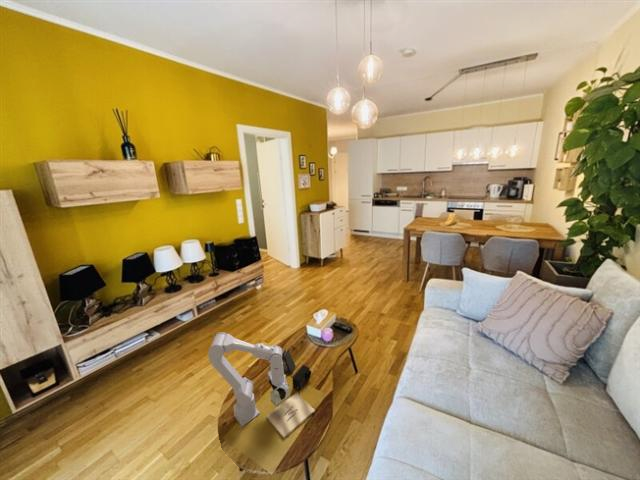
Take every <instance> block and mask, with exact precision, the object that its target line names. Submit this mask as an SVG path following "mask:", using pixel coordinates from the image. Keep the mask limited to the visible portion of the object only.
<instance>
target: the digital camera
mask: <svg viewBox="0 0 640 480" xmlns="http://www.w3.org/2000/svg"><path fill="white" fill-rule="evenodd" d="M311 376H312V371H311V370H310V367H309V366H307V365H304V364H303V365H301V367H300V368H299V369H298V370H297V371H296V373H295V374H294V375H293V376H292V379H291V380H292V389H294V390H296V391H298V392H301V390H302V389H303V388H304V386H305V385H306V384H307V382H308V381H309V380H310V378H311Z"/></svg>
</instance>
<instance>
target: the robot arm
mask: <svg viewBox="0 0 640 480" xmlns="http://www.w3.org/2000/svg"><path fill="white" fill-rule="evenodd" d="M211 342H212V343H211V345H210V347H209V348H208V351H207V355H208V362H209V363H210V364H211V366H212V367H213V368H214V369H215V370H216V371H217V372H218V373H219V374H220V375H221V377H222V378H223V379H224V380H225V381H226V383H227V384H228V385H229V386H230V387H231V388H232V389H233V394H234V398H235V400H236V403H234V404H233V407H232V408H233V414H234V415H233V417H234V418H235V419H236V420H237V422H238V424H239V425H240V427H244V426H245V425H246V424H248V423H249V422H251V420H253V419H255V418H257V416H258V415H260V414H261V413H260V411H259V409H258V408H257V406H256V400H255V394H254V392H253V391H254V390H253V389H254V386H255V385H254V382H253V381H252V380H250V379H248V378H247V377H245V376H244V377H242V376H241V375H240V373H239V372H238V371H237V370H236V369H235V368H234V367H233V365H232V364H231V363H230V361H229V360H228V359H226V357H225V356H224V355H229V353H231V352H233V351H237V352H238V351H239V352H243V353H251V354H252V357H254V358H257V359H260V360H261V359H262V360H266V361H268V363H269V364H270V365H269V366H270V370H269V371H268V372H267V376H268V378H269V379H270V380H268V383H269V385H270V386H271V389H272V391H273V390H274V389H275V388H277V387H280V388H278V389H277V391H278V392H279V395H280V399H281V400H283V399H284V398H285V395H286V393H287V392H288V391H289V390H290V391H291V388H290V386H289V385H290V384H288V382H287V380H286V378H287V375H286V373H284V369H283V361H282V354H283V349H282V347H281V346H279V345H277V344H275V345H267V344H264V343H263V342H261V343H259V342H258V343H256V344H252V343H250V342H246V341H243V340H241V339H238V338H236V337H234V336H233V335H232V334H231V333H226V332H221V331H220V332H217V333H216V334H214V337H213V339H212V341H211Z"/></svg>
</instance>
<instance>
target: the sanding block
mask: <svg viewBox="0 0 640 480" xmlns="http://www.w3.org/2000/svg"><path fill="white" fill-rule="evenodd" d="M278 388H280V387H277V388H275V389H274V390H273V389H272V390H271V391H270V392H269V395H270V402H271V403H272V404H273V405H274V406H275V408H277V407H278V406H280V405H281V404H282V403H284V402H285V401H286V400H288V399H289V398H290V397H291V389H290V390H289V391H288V392H287V393H286V395H285V398H284V399H283V400H281V399H280V395H279V392H278V391H277V389H278Z"/></svg>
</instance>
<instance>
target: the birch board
mask: <svg viewBox="0 0 640 480" xmlns="http://www.w3.org/2000/svg"><path fill="white" fill-rule="evenodd" d="M315 412H316V410H315V409H314V408H313V407H312V405H310V404H309V403H308V402H307V401H306V400H305V399H304V398H303V397H302V396H301V395H299V393H298V392H295V393H294V394H293V395H292V396H290V397H288V398H287V399H286V400H284V401H283V402H282V403H281V404H279V405H278V406H277V407H275V408H274V409H273V410H272V411H271V412H269V413H268V414H267V415H265V416H266V419H267V420H268V421H269V423H270V424H271V425H272V426H273V427H274V429H275V430H276V431H277V433H279V434H280V437H282V438H283V439H286V438H287V437H288V436H289V435H290V434H292V433H293V432H294V431H295V430H296V429H297V428H298V427H299V426H301V425H302V424H303V423H304V422H305V421H306V420H308V419H309V418H310V417H311V416H312V415H313V414H314V413H315ZM312 413H313V414H312ZM311 414H312V415H311ZM310 415H311V416H310ZM309 416H310V417H309ZM308 417H309V418H308Z"/></svg>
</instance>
